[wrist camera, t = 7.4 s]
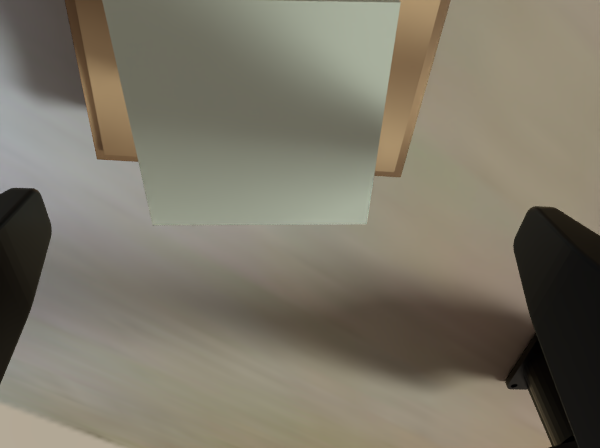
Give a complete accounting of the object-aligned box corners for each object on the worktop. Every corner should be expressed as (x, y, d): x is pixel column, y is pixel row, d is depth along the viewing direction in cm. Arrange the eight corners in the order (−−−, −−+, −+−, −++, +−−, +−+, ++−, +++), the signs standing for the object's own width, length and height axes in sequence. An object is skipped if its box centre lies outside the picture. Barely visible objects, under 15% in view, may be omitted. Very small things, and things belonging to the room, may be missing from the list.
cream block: (337, 90, 17) (366, 224, 12) (191, 89, 17) (152, 225, 12) (352, -78, 14) (400, 2, 9) (169, -82, 14) (101, -3, 8)
